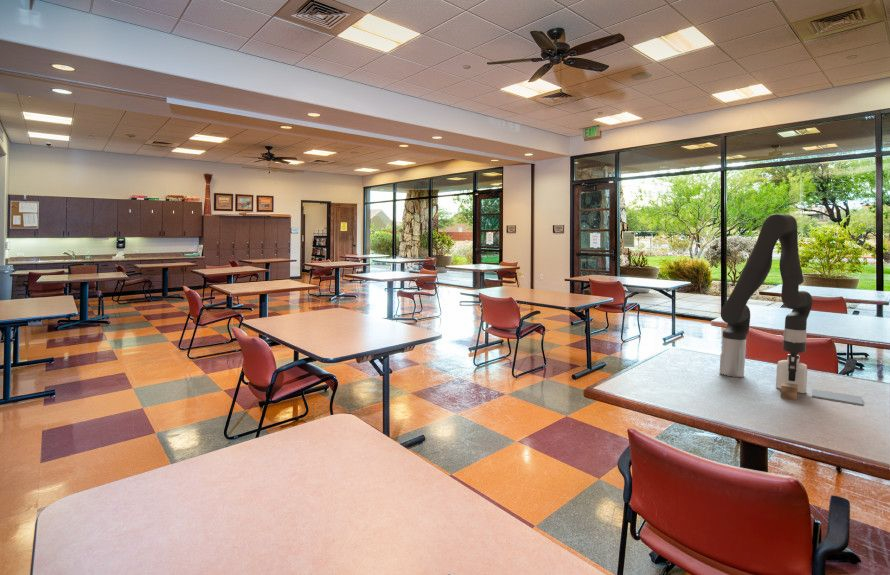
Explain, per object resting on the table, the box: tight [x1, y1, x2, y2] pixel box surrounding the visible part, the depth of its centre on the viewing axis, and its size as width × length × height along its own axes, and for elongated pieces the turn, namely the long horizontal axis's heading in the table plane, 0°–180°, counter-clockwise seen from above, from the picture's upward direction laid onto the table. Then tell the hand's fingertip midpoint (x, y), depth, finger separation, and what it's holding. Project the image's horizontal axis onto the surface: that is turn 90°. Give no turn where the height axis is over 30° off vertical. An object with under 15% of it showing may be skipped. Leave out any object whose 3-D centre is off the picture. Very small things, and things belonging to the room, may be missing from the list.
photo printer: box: [775, 359, 808, 394], centre depth 188 cm, size 10×4×12 cm, turn 39°
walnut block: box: [780, 382, 799, 401], centre depth 181 cm, size 5×5×5 cm
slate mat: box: [811, 388, 864, 406], centre depth 180 cm, size 15×10×1 cm, turn 51°
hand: (792, 378), depth 188 cm, fingers open, 8 cm apart
